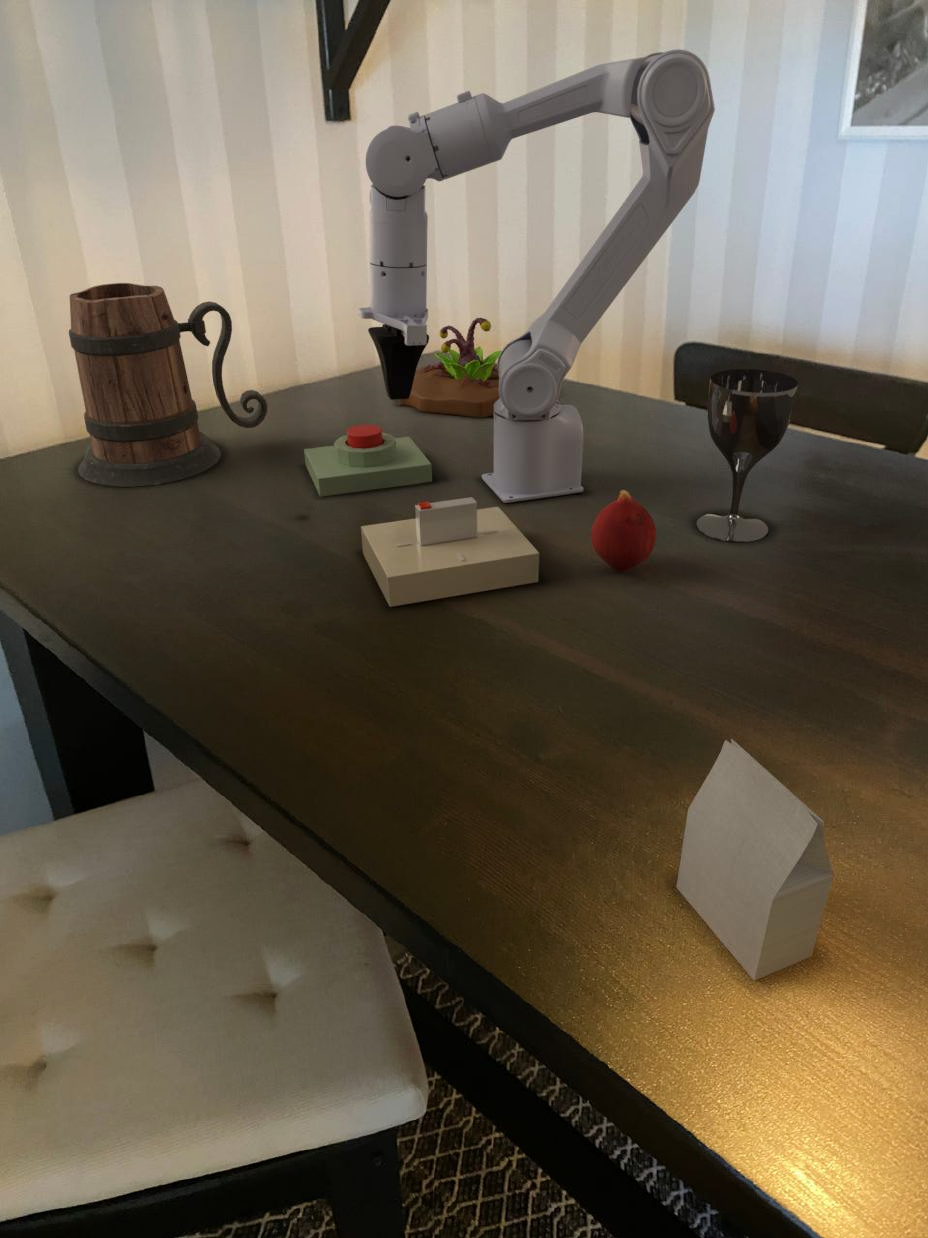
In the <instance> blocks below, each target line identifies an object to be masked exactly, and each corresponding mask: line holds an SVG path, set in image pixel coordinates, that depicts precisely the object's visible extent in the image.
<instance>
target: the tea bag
mask: <svg viewBox="0 0 928 1238" xmlns="http://www.w3.org/2000/svg"><path fill="white" fill-rule="evenodd" d="M723 742H724V743H723V744H722V747H721V750H720V753H719V754H718V757H717V758H716V760H715V762H714V764H713V766H712V767H711V769H710V772H709V773H708V774H707V776H706V778H705V780H704V781H703V783H702V785H701V786H700V788H699V789H698V791H697V793H696V795H695V796H694V798H693V800H692V802H691V803H690V805H689V807H688V808H687V814H686V822H685V827H684V834H683V841H682V846H681V854H680V861H679V866H678V873H677V874H678V875H677V880H676V889H677V890H678V892H680V894H681V895H682V897H684V899H685V900H686V901H687V902H688V903H689V905H690V906H691V907H692V908H693V909H694V911H695V912H696V913H697V914H698V915H699V917H700V918H701V919H702V920H703V922H704V923H705V924H706V925H707V926H708V928H709V929H710V930H711V931H712V933H714V935H715V936H716V937H717V938H718V939H719V940H720V942H721V943H722V944H723V945H724V947H725V948H726V949H727V951H728V952H730V954H731V955H732V957H734V959H735V960H736V961H737V963H738V964H740V966H741V967H742V968H743V969H744V971H745V972H746V973H747V975H749V977H750V978H751V980H752V981H753V982H755V981H758V980H760V979H762V978H765V977H767V976H769V975H771V974H773V973H776V972H778V971H781V970H783V969H785V968H787V967H791V966H792V965H795V964H797V963H799V962H802V961H804V960H807V959H809V958H811V957H813V953H814V949H815V946H816V941H817V938H818V935H819V931H820V927H821V924H822V921H823V918H824V917H823V916H824V913H825V909H826V906H827V902H828V898H829V895H830V890H831V887H832V884H833V880H834V876H835V874H834V871H833V868H832V867H833V866H832V864H831V860H830V857H829V854H828V850H827V847H826V840H825V834H824V831H825V829H824V828H825V821H824V820H823V819H822V818H820V817H819V816H818V815H817V814H816V813H815V812H814V811H813V810H812V809H810V808H809V807H808V806H807V805H806V804H805V803H804V802H802V800H801V799H799V798H798V797H797V796H796V795H795V794H793V792H792V791H791V790H789V789H788V788H787V787H786V786H785V785H784V784H782V782H780V781H779V780H778V779H777V778H776V777H775V776H774V775H773V774H772V773H770V772H769V771H768V770H767V769H766V768H765V767H764V766H763V765H762V764H760V763H759V762H758V761H757V760H756V759H755V758H754V757H753V756H751V754H750V753H748V752H747V751H746V750H745V749H744V748H743V747H742V746H741V745H739V744H738V743H737V742H736V741H735V740H734V739H733V738H730V742H729V740H727V739H725V740H724V741H723Z"/></svg>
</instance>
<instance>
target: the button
mask: <svg viewBox="0 0 928 1238" xmlns="http://www.w3.org/2000/svg"><path fill="white" fill-rule="evenodd" d="M382 433H383V429H382V427H380V426H377V425H373V424H359V425H354V426H352V427H349V428H348V429H347V430H346V435H347V439H348V446H350V447H353V448H361V449H366V448H374V447H377V446H380V445H382V444H383V440H382Z"/></svg>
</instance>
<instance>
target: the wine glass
mask: <svg viewBox="0 0 928 1238" xmlns="http://www.w3.org/2000/svg"><path fill="white" fill-rule="evenodd" d="M798 387H799V381H798V380H797V379H796V378H794V377H792V376H790V375H787V374H785V373H781V372H776V371H773V370H764V369H754V368H753V369H752V368H751V369H750V368H738V369H727V370H721V371H718V372H715V373H714V374H712V375H711V376H710V378H709V383H708V393H707V404H706V405H707V422H708V430H709V434H710V438H711V440H712V442H713V444H714V445H715V446H716V448H717V449H718V451H719V452H720V453H721V454H722V456H723V457H724V459H725V460H726V461H727V464H728V465H729V468H730V470H731V474H732V475H731V476H732V494H731V495H732V496H731V503H730V504H731V505H730V510H729V511H719V512H718V511H717V512H710V513H707V514H704V515H702V516H700V517H699V518H698V519H697V520H696V522H695V525H696V526H695V527H696V528H697V530H698V531H700V533H702V534H704V535H705V536H707V537H710V538H711V539H716V540H719V541H723V542H732V543H749V542H754V541H758V540H761V539H764V538H765V537H766V536H767V535H768V533H769V527H768V525H767V524H766V523H765V522H764V521H763V520H761V519H759V518H756V517H754V516H752V515H748V514H746V513H740V512H739V509H740V503H741V497H742V493H743V489H744V487H745V483H746V480H747V477H748V475H749V473H750V472H751V471H752V469H753V468H754V466H756V465H757V463H759V462H760V461H761V460H762V459H764V458H765V457H766V456H767V455H769V454H770V453H771V452H772V451H773V450H775V448H776V447H777V446H779V444H780V443H781V442H782V440H783V438H784V437H785V434H786V432H787V429H788V427H789V425H790V422H791V419H792V416H793V414H794V409H795V404H796V399H797V394H798Z"/></svg>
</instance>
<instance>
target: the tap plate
mask: <svg viewBox="0 0 928 1238" xmlns="http://www.w3.org/2000/svg"><path fill="white" fill-rule="evenodd" d="M360 534H361V544H362V555H363V556H364V559H365V561H366V563H367V565H368V567H369V568H370V570H371V573H372V575H373V577H374V578H375V581H376V582H377V585H378V587H379V588H380V591H381V592H382V593H381V594H383V597H384V598H385V599H384V600H386V602H387V604H388V606H389V608H392V607H398V606H404V605H410V604H416V603H422V602H428V601H435V600H439V599H446V598H451V597H458V596H464V595H470V594H476V593H481V592H486V591H493V590H498V589H504V588H511V587H516V586H523V585H528V584H534V583H539V575H540V573H539V570H540V552H539V551H538V550H537V548H535V546H534V544H532V543H531V542H530V540H529V539H528V538H527V537H526V536H525V535H524V534H523V533H522V531H520V529H519V528H518V527H517V526H516V525H515V524H514V522H512V520H511V519H510V518H509V517H508V516H507V514H506V513H504V511H503V510H502V509H501V508H500V507H499V506H491V507H486V508H477V537H473V538H467V539H461V540H454V541H448V542H441V543H435V544H429V545H422V546H421V545H420V544H419V542H418V541H417V534H416V518H409V519H402V520H396V521H389V522H388V521H387V522H382V523H375V524H368V525H362V526H360Z"/></svg>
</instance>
